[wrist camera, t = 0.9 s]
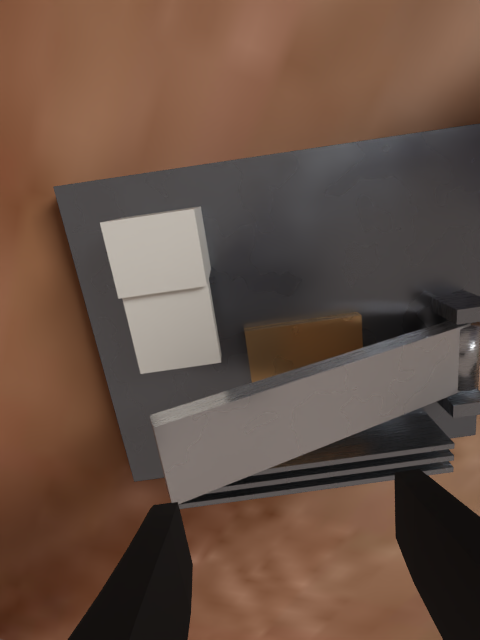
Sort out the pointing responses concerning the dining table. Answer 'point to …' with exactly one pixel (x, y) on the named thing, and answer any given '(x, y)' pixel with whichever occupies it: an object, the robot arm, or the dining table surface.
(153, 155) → the dining table surface
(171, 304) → the block
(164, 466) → the strap
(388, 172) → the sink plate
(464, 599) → the robot arm
